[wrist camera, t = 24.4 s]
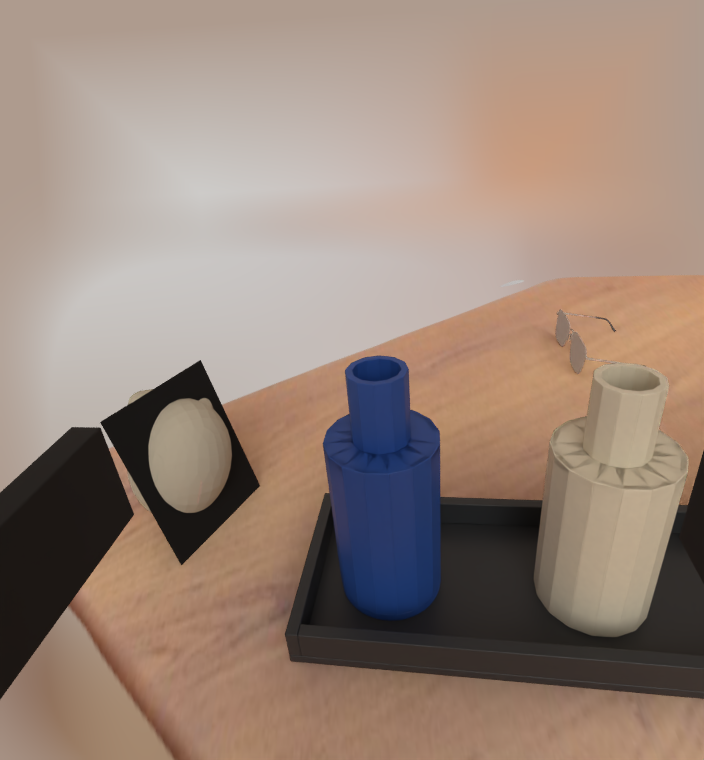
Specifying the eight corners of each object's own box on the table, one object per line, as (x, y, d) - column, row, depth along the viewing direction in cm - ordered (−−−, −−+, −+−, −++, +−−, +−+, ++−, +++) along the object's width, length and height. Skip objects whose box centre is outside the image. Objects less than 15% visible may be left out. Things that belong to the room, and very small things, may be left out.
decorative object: (125, 555, 44) (205, 484, 51) (206, 569, 38) (283, 486, 46) (46, 426, 40) (146, 369, 47) (123, 420, 34) (223, 356, 41)
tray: (848, 538, 37) (862, 510, 35) (1020, 727, 26) (1050, 697, 24) (328, 516, 43) (324, 492, 42) (290, 661, 32) (284, 634, 31)
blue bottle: (461, 581, 35) (466, 368, 28) (386, 641, 32) (367, 417, 24) (395, 528, 40) (383, 333, 33) (324, 574, 37) (291, 370, 29)
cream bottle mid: (666, 599, 34) (733, 376, 26) (609, 665, 30) (667, 431, 22) (570, 541, 38) (602, 338, 31) (512, 592, 35) (532, 378, 27)
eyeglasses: (552, 332, 71) (557, 304, 69) (613, 334, 70) (620, 306, 68) (580, 382, 58) (587, 350, 56) (654, 385, 58) (665, 353, 56)
